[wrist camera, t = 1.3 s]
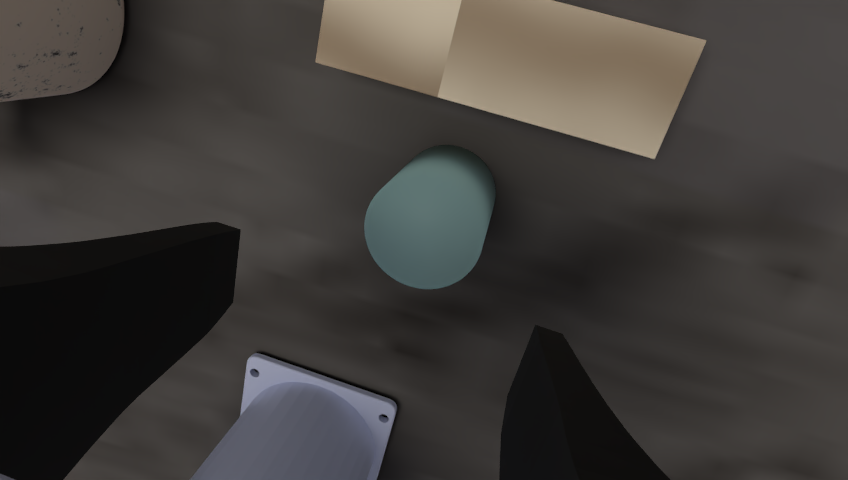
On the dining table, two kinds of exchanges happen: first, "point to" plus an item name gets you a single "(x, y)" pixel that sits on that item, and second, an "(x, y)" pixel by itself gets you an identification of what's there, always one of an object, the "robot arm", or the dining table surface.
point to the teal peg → (432, 218)
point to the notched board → (521, 62)
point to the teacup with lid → (56, 45)
